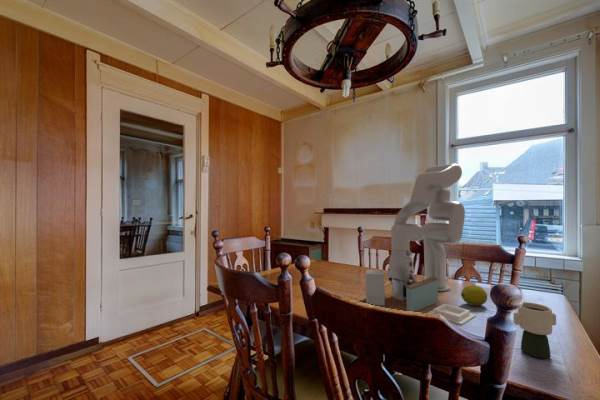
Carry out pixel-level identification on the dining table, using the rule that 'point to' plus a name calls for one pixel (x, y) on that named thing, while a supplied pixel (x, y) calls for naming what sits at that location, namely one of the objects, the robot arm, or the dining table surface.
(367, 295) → the supplement box
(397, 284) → the block
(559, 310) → the dining table surface
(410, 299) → the door board
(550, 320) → the character mug
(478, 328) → the dining table surface
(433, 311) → the cradle
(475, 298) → the lemon
